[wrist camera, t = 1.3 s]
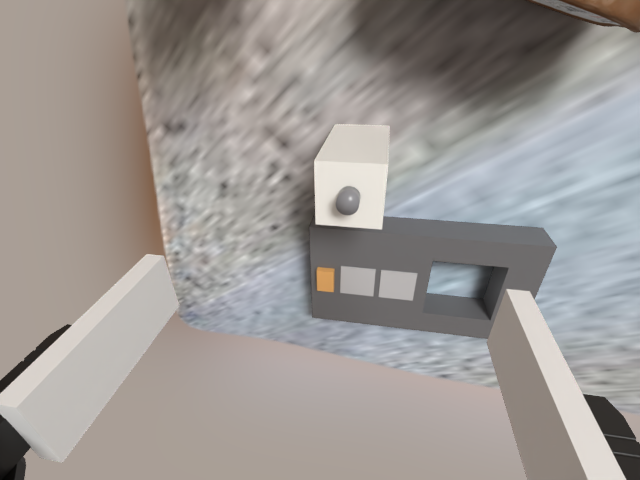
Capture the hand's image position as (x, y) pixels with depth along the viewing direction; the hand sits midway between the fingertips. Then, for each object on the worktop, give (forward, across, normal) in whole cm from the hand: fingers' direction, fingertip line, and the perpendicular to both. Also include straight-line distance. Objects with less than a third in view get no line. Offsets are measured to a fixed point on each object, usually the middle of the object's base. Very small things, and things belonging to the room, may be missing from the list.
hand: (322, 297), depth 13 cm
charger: (+18, 0, 0) cm, 19 cm away
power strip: (+18, -6, +12) cm, 23 cm away
